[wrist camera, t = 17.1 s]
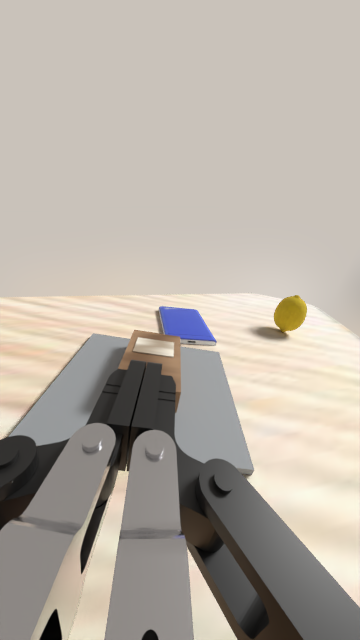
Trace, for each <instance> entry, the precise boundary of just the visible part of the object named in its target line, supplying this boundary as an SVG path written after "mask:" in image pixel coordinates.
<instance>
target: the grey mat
mask: <svg viewBox="0 0 360 640" xmlns="http://www.w3.org/2000/svg"><path fill="white" fill-rule="evenodd" d="M129 341H130V339H127V338H120V337H114V336H107V335H100V334H94V333H93V334H92V336H91V337H90V338H89V339H88V341H87V342H86V343H85V344H84V345H83V347H82V348H81V349H80V350H79V351H78V353H77V354H76V355H75V356H74V358H73V359H72V360H71V361H70V362H69V364H68V365H67V366H66V367H65V368H64V370H63V371H62V372H61V373H60V375H59V376H58V377H57V378H56V379H55V381H54V382H53V383H52V384H51V385H50V387H49V388H48V389H47V390H46V391H45V393H44V394H43V395H42V396H41V398H40V399H39V400H38V401H37V402H36V404H35V405H34V406H33V407H32V408H31V410H30V411H29V412H28V413H27V415H26V416H25V417H24V418H23V419H22V421H21V422H20V423H19V424H18V425H17V427H16V428H15V429H14V430H13V432H12V433H11V434H10V435H9V436H8V437H11V436H16V435H24V436H28V437H30V438H32V439H33V440H34V441H35V443H36V446H40V445H45V444H51V443H56V442H61V441H64V440H67V439H69V438H71V437H72V435H73V434H74V433H75V432H76V431H77V430H78V429H80V428H81V427H83V426H85V425H86V423H87V421H88V419H89V417H90V415H91V413H92V411H93V409H94V407H95V405H96V403H97V401H98V399H99V397H100V395H101V393H102V390H103V388H104V386H105V385H106V382H107V380H108V378H109V376H110V375H111V374H112V373H113V372H114V371H116V370H117V369H118V367H119V365H120V362H121V360H122V358H123V355H124V353H125V351H126V348H127V346H128V344H129ZM180 352H181V395H180V399H179V404H178V408H177V412H176V413H175V440H176V442H177V444H178V446H179V447H180V449H181V450H182V451H183V452H184V453H185V454H187V455H188V456H190V457H192V458H194V459H196V460H198V461H200V462H202V463H205V462H207V461H208V460H211V459H215V458H217V459H223V460H226V461H228V462H229V463H231V464H232V465H234V466H235V467H236V468H237V469H238V470H239V472H240V473H241V474H249V475H252V473H253V471H254V468H253V464H252V461H251V458H250V454H249V451H248V448H247V444H246V441H245V438H244V434H243V431H242V428H241V425H240V421H239V418H238V415H237V411H236V408H235V405H234V401H233V398H232V395H231V391H230V388H229V385H228V381H227V378H226V375H225V371H224V368H223V365H222V361H221V358H220V355H219V352H213V351H207V350H200V349H193V348H187V347H180ZM127 461H128V460H127Z"/></svg>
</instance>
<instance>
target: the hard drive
mask: <svg viewBox="0 0 360 640" xmlns="http://www.w3.org/2000/svg"><path fill="white" fill-rule="evenodd" d="M159 315H160V320H161V324H162V329H163V334H166V335H173V336H179V337H180V344H198V345H216V340H215V338H214V337H213V335H212V334H211V332H210V330H209V329H208V327H207V325H206V324H205V322H204V320H203V319H202V317H201V316H200V314H199V312H198V311H197V310H194V309H184V308H174V307H163V306H162V307H159Z"/></svg>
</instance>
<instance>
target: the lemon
mask: <svg viewBox="0 0 360 640" xmlns="http://www.w3.org/2000/svg"><path fill="white" fill-rule="evenodd" d="M306 313H307V307H306V304H305V302H304V301H303V300H302V299H301V298H300V297H299V296H298V295H295V296H291V297H287V298H285V299H283V300H282V301H281V302H280V303H279V305H278V306H277V308H276V310H275V313H274V321H275V323H276V325H277V326H278V327H279V328H280V330H281V331H282V332H285V331H291V330H295V329H297V328H298V327H300V326H301V324H302V323H303V322H304V320H305V317H306Z"/></svg>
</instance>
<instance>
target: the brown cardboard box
mask: <svg viewBox="0 0 360 640" xmlns="http://www.w3.org/2000/svg"><path fill="white" fill-rule="evenodd" d="M131 359H132V360H139V361H146V362H154V363H161V364H162V371H161V375H169V376H172V377H173V379H174V381H175V383H176V401H175V413H176V412H177V408H178V404H179V399H180V395H181V352H180V337H179V336H173V335H166V334H159V333H152V332H146V331H139V330H134V332H133V334H132V337H131V339H130V341H129V344H128V346H127V348H126V351H125V353H124V355H123V358H122V360H121V362H120V365H119V367H118V369H124V370H127V369H128V366H129V364H130V361H131ZM146 366H147V364H146Z"/></svg>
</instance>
